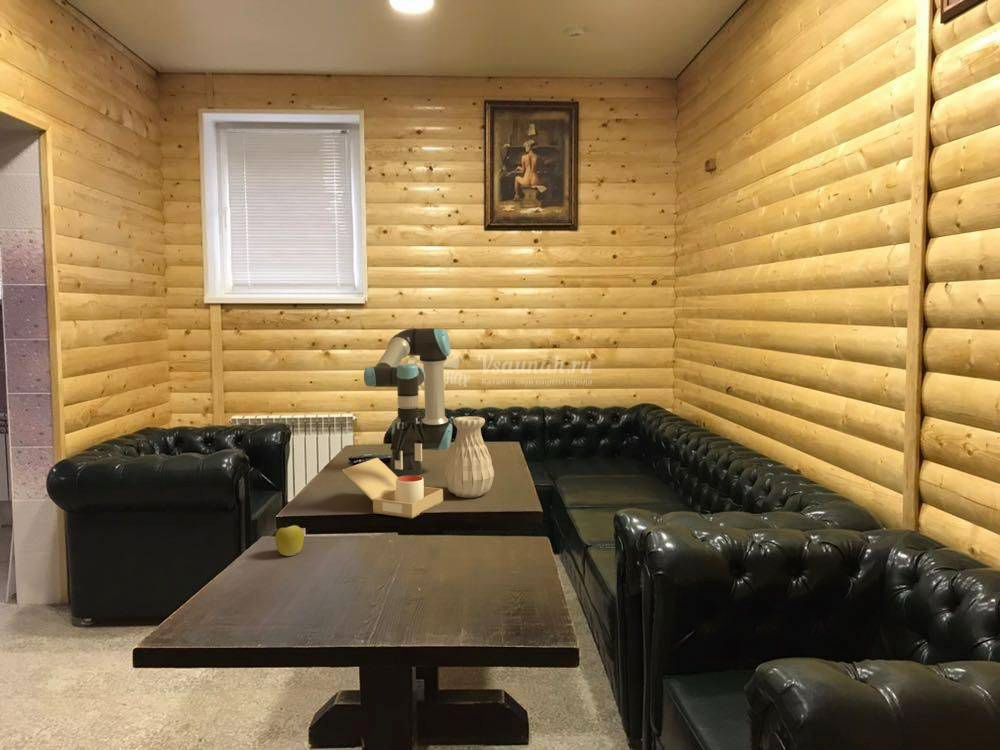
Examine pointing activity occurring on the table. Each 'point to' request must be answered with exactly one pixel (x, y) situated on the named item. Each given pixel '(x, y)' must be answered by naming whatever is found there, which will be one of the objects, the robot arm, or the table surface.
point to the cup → (409, 489)
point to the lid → (372, 477)
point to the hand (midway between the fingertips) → (408, 464)
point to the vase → (468, 460)
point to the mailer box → (409, 510)
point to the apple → (289, 540)
